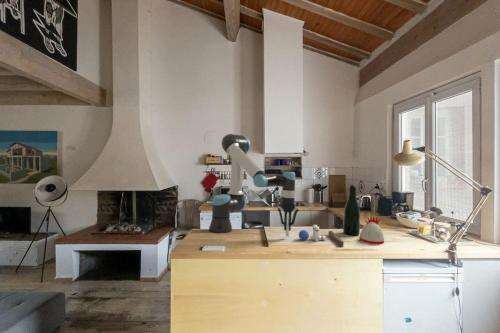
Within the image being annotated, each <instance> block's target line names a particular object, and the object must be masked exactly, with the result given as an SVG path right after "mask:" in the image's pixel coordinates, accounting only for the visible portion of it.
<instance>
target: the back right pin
mask: <svg viewBox="0 0 500 333" xmlns="http://www.w3.org/2000/svg"><path fill="white" fill-rule="evenodd" d="M319 234H320V226H317V227H315V240H313V241H314V242H316V243H318V242H319V241H320V240H319V236H320V235H319Z"/></svg>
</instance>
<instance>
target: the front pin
mask: <svg viewBox="0 0 500 333" xmlns="http://www.w3.org/2000/svg"><path fill="white" fill-rule="evenodd" d="M310 240H311V241H314V240H315V236H313V235H310ZM319 241H326V236H324V235H319Z"/></svg>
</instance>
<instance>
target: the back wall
mask: <svg viewBox="0 0 500 333" xmlns="http://www.w3.org/2000/svg"><path fill="white" fill-rule="evenodd" d="M328 237H329V238H330V239H332V240H333V242H335V243H336V244H337V245H338V247H340V248H341V247H342V248H343V247H344V240H343V239H341V238H340V237H339V236H338V235H337V234H336V233H334V232H333V231H332V230H328Z"/></svg>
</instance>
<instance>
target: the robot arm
mask: <svg viewBox="0 0 500 333" xmlns="http://www.w3.org/2000/svg"><path fill="white" fill-rule="evenodd" d="M221 147H222V149H223V151H224V152H225V153H226V155H228V156H231V167H230V169H231V170H230V183H229V190H228V191H227V194H225V193H222V194H217V195H214V196H213V198H212V202H211V203H212V205H211V207H212V209H211V212H212V213H211V220H210V221H211V222H210V224H209V227H208V230H209V232H211V233H216V234H218V233H219V234H222V233H223V234H226V233H230V232H232V231H233V226H232V222H231V219H230V218H231V217H230V215H231V214H232V213H239V212H242V211H243V210H245V208H246V207H247V199H246V196H245V193H244V192H243V179H244V178H243V177H244V171H245V173H247V174H248V175H249V176H250V178H252V179H253V180H252V181H253V182H252V183H253V184H254V185H253V186H255V187H256V188H267V187H268V188H269V187H270V188H271V187H281V189H282V190H281V197H282V198H281V206H279V207H278V208H277V211H278V214H279V218H280V223H281V225H283V230H284V231H285V237H289V235H290V234H289V232H290V231H291V230H292V228H291V227H292V226H294V225H295V221H296V218H297V214H298V212H299V209H298V208H296V206H295V201H296V200H295V199H296V198H295V195H296V194H295V193H296V191H295V190H296V173H295V172H294V171H283V172H282V174H278V173H268V174H266V173H265V172H264V171H263V170H262V169H261V167H259V166H258V165H257V164H256V162H254V160H252V159H251V157H250V156H248V152H249V150H250V149H251V140H250V139H249V138H248V137H247V136H244V135H242V134H240V135H239V134H233V133H228V134H226V135H224V136H223V138H222V140H221ZM282 212H283V213H284V216H283V214H282ZM292 212H293V215H292ZM283 217H284V219H283ZM287 220H288V223H287Z"/></svg>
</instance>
